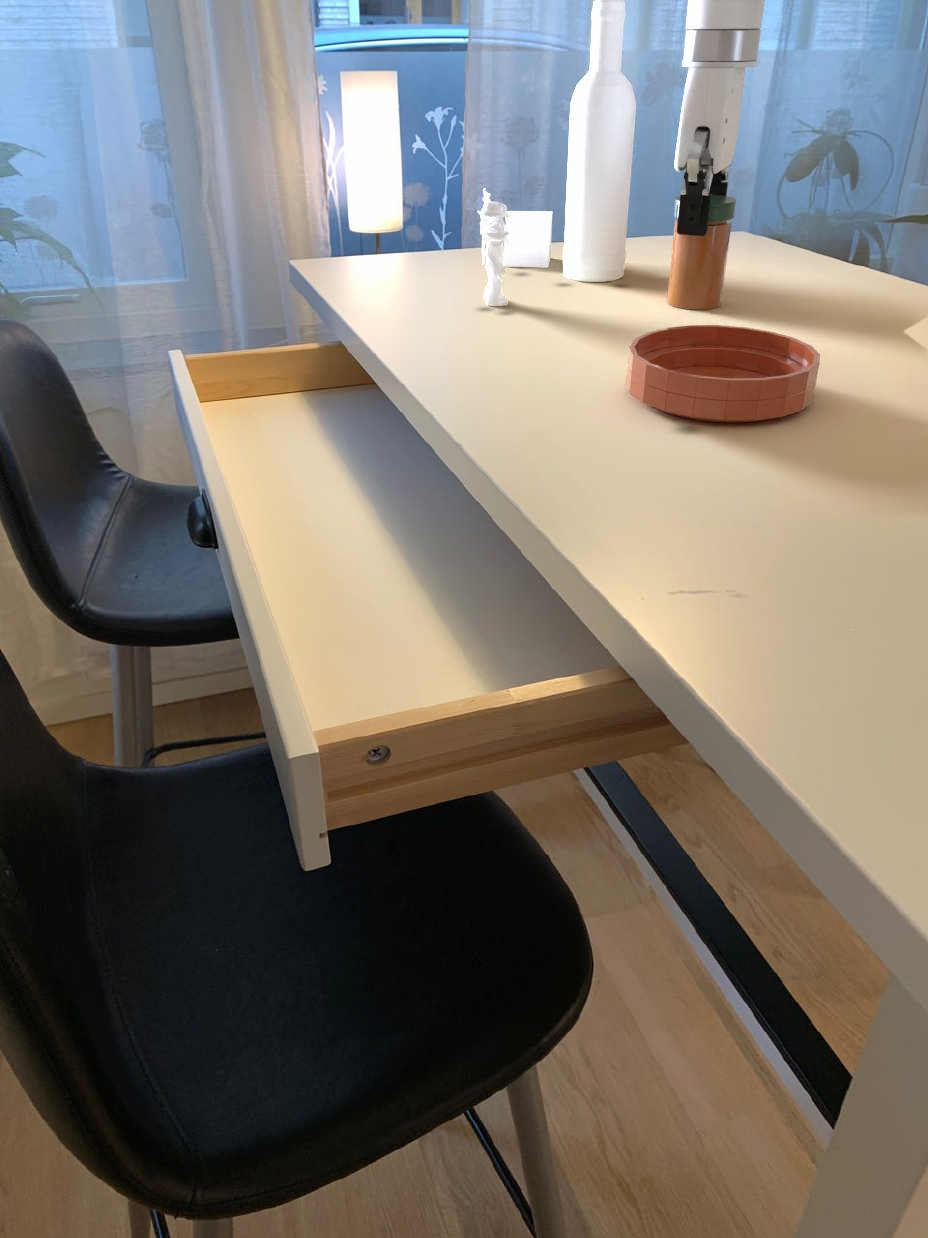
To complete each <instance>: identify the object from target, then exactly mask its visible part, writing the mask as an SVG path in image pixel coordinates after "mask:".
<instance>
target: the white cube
mask: <svg viewBox="0 0 928 1238" xmlns="http://www.w3.org/2000/svg"><path fill="white" fill-rule="evenodd" d="M507 213H510V214H512V216H510V217H506V224H505V225H504V230H505V231H507V232H508V233H509V234H510V235H506V238H507V241H508V245H507V243H506V239H504V240H503V258H504V263H503V264H504V266H505V268H544V269H545V268H547V269H548V268H549V266H550V263H551V258H552V235H553V234H552V233H553V211H543V210H542V211H541V210H540V211H539V210H538V211H537V210H536V211H534V210H507Z"/></svg>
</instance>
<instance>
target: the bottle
mask: <svg viewBox="0 0 928 1238" xmlns="http://www.w3.org/2000/svg"><path fill="white" fill-rule="evenodd" d="M592 4H593V5H592V11H591V14H590V15H591V16H590V18H591V40H590V56H589V58H590V59H589V60H590V61H589V70H588V71H587V73H586V74H585V75H584V76H583V77H582V79H580V81H579V82H578V83H577V84H576V87H575V90H574V91H573V95H572V98H571V101H570V107H569V109H570V110H569V129H568V130H569V131H568V154H567V174H566V175H567V177H566V196H565V197H566V198H565V199H566V200H565V218H564V219H565V221H564V222H565V224H564V242H563V243H564V245H563V251H562V265H563V267H562V275H563V276H564V277H565V278H566V279H569V280H571V281H572V280H573V281H576V282H585V283H606V282H613V281H617V280H619V279H621V278H622V277H624V271H625V265H626V258H627V251H626V245H627V234H628V233H627V232H628V219H629V205H630V195H631V182H632V181H631V180H632V169H633V166H632V165H633V156H634V155H633V153H634V141H635V129H636V128H635V126H636V115H637V113H636V112H637V101H636V96H635V92H634V87H633V84H632V83H631V82H630V81H629V79H628V78H627V77H626V75H625V74H624V73H623V72H622V59H623V45H624V44H623V43H624V29H625V20H626V17H627V12H626V1H625V0H594V1H593V3H592Z"/></svg>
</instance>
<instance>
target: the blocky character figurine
mask: <svg viewBox="0 0 928 1238" xmlns="http://www.w3.org/2000/svg"><path fill="white" fill-rule="evenodd" d="M482 191H483V195H484V196H482V202H484V203H483V207H482V208H481V211H480V210H477V213H478V214H479V216H480V220H481V221H480V222H479V224H480V235H482V237H481V239H482V240H481V256H482V265H485V269H486V272H487V277H488V283H487V285H486V287H485V289H484V292H483V294H484V295H483V300H484V301H485V305H486V306H488V307H504V306H507V305H508V299H507V298H506V296H505V293H502V292H503V285H504V284H503V278H506V276H507V275H506V274H507V273H506V270H505V269H506V267H505V266H504V264H503V263H504V239H506V243H507V245H508V241H507V238H506V235H510V234H509V233H508V232H507V231H505V230H504V225H505V224H506V217H510V216H512V214H510V213H507V212H508V207H507V205H506V204H504V203H502V202H499V201H498V200H494V201H492V199H491V197H492V194H491V193H489V192H488V191H486V188H483V190H482ZM485 249H486V250H485ZM485 257H486V261H485ZM485 262H486V263H485Z"/></svg>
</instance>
